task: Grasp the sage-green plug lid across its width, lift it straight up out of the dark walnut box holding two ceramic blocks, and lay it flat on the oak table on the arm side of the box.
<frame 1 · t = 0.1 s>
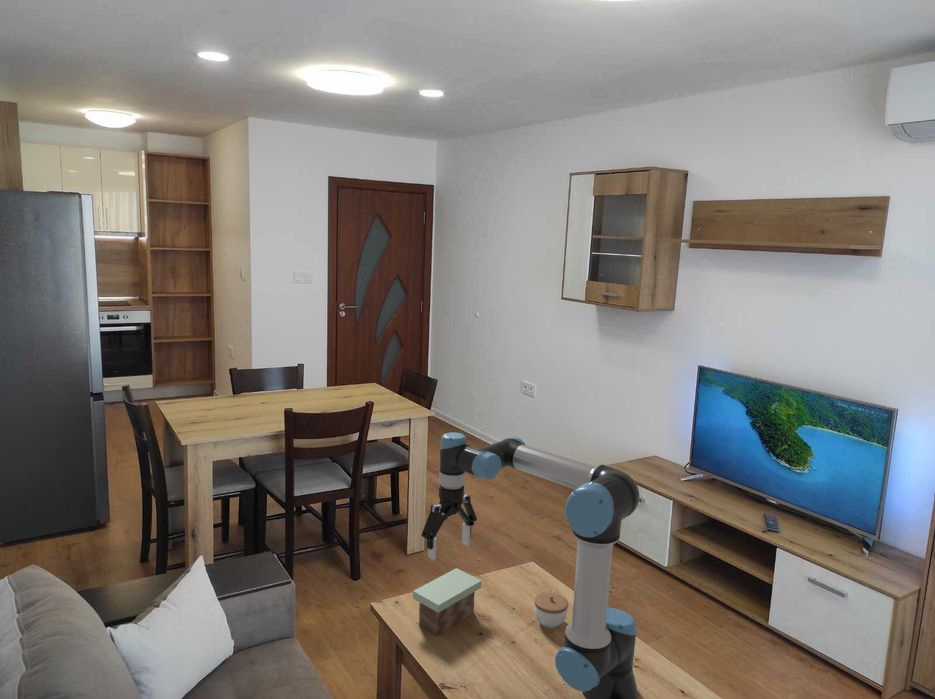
hand: (449, 551, 202), 28 cm above the table, fingers open, 13 cm apart
box: (446, 621, 214), on the table
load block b: (438, 624, 211), point 1 cm above the table, touching box
lid: (447, 592, 212), point 10 cm above the table, touching box
lidded jar: (549, 623, 216), on the table
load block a: (455, 614, 217), point 1 cm above the table, touching box
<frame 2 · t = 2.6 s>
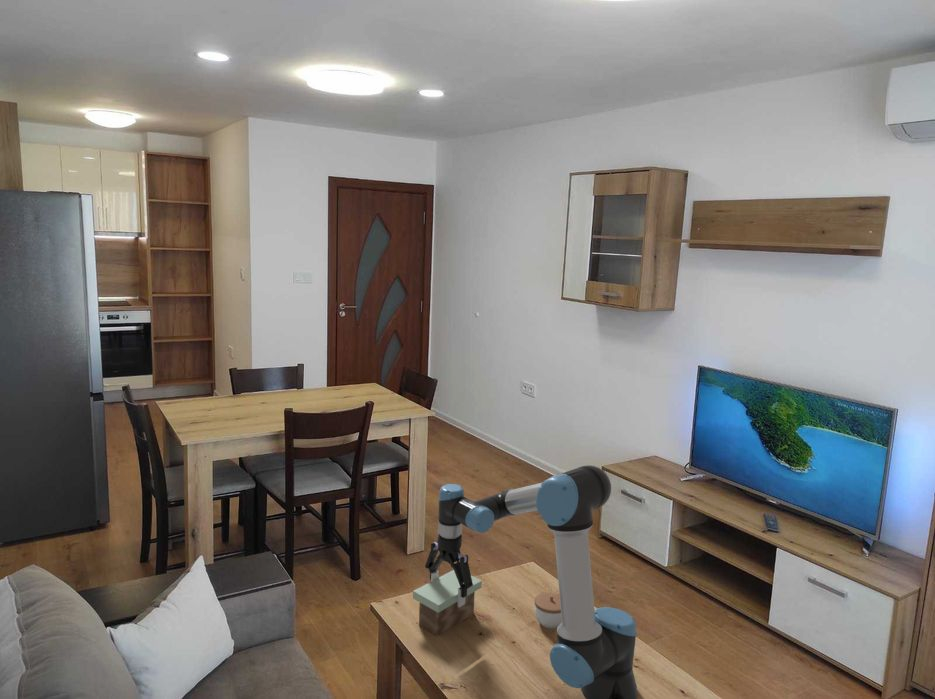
hand: (447, 597, 213), 8 cm above the table, fingers closed on lid, 11 cm apart
lid: (447, 592, 212), point 10 cm above the table, touching box, gripper
everything else where it was.
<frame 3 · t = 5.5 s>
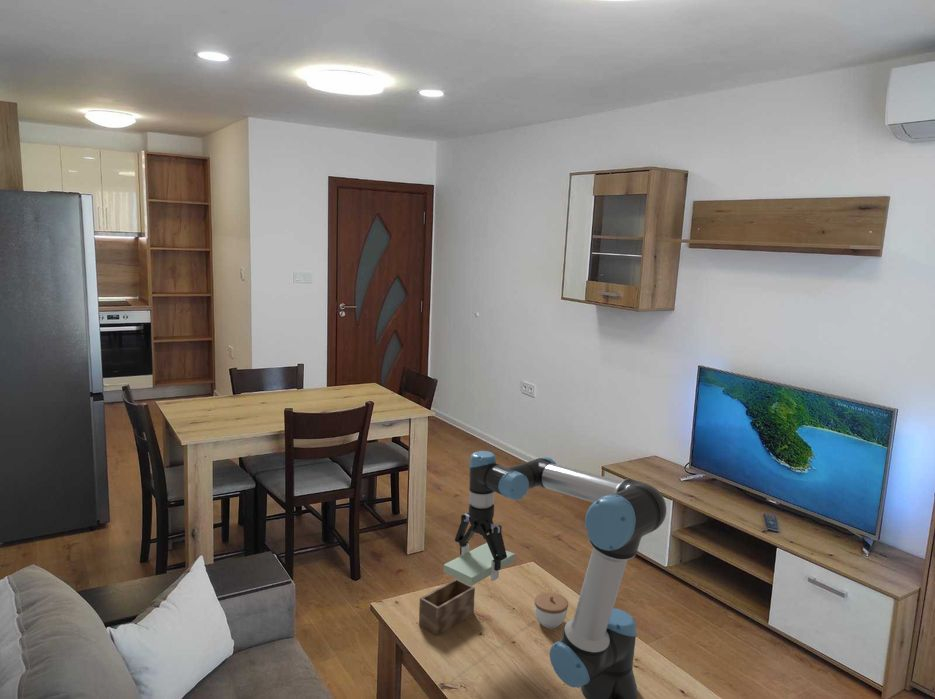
hand: (479, 572, 202), 22 cm above the table, fingers closed on lid, 11 cm apart
lid: (479, 566, 202), point 24 cm above the table, touching gripper
everything else where it was.
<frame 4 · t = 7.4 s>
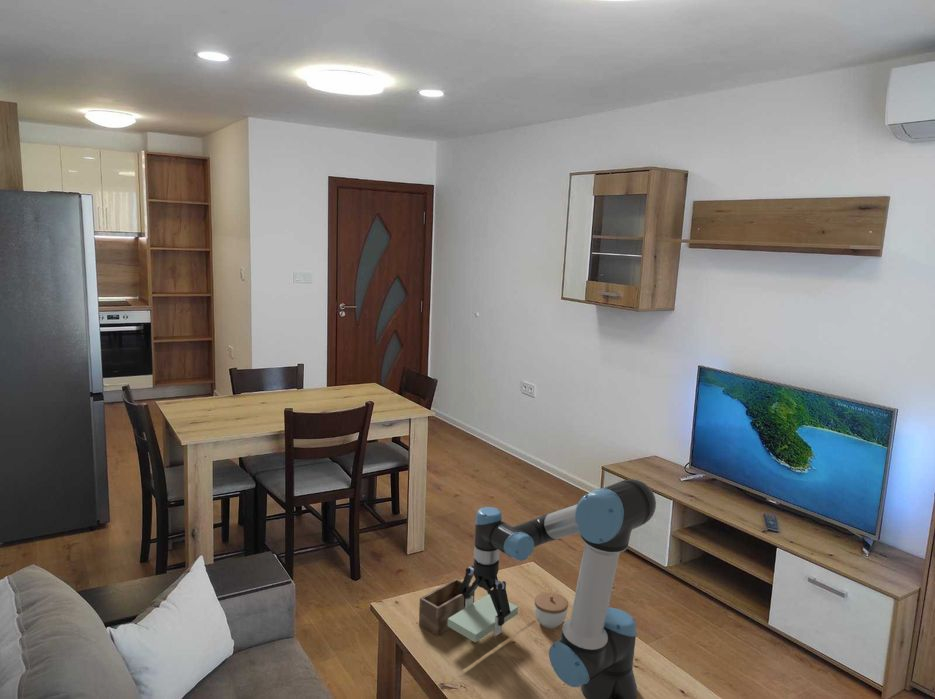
hand: (482, 625, 204), 6 cm above the table, fingers closed on lid, 11 cm apart
lid: (483, 619, 203), point 7 cm above the table, touching gripper
everything else where it was.
when the fingers open (2 cm above the table, at t = 8.8 s): lid drops 3 cm, point 1 cm above the table.
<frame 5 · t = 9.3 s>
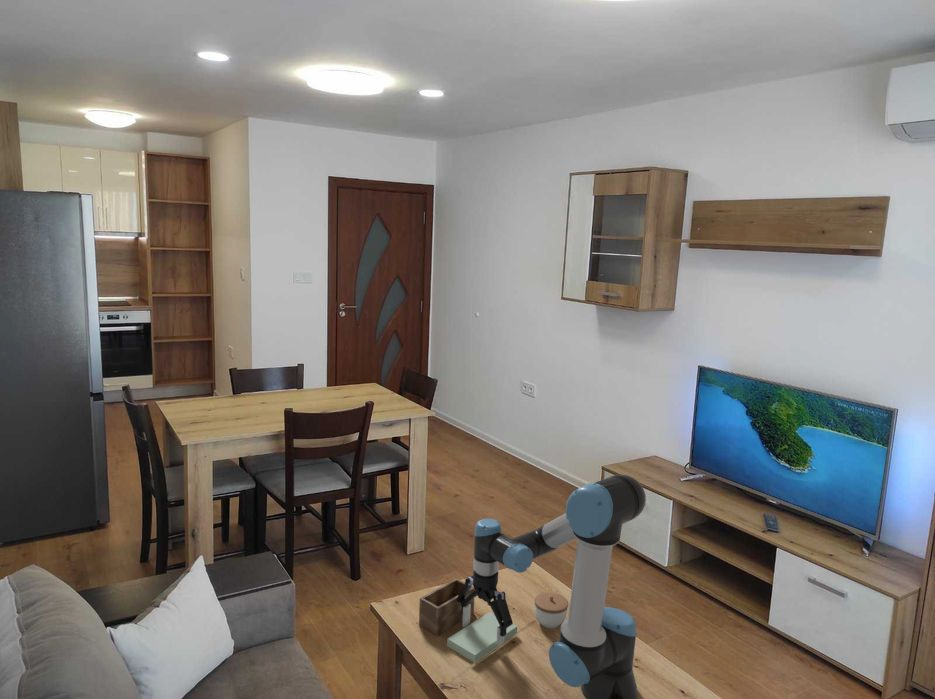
hand: (482, 634, 204), 3 cm above the table, fingers open, 13 cm apart
lid: (482, 639, 204), point 1 cm above the table
everything else where it was.
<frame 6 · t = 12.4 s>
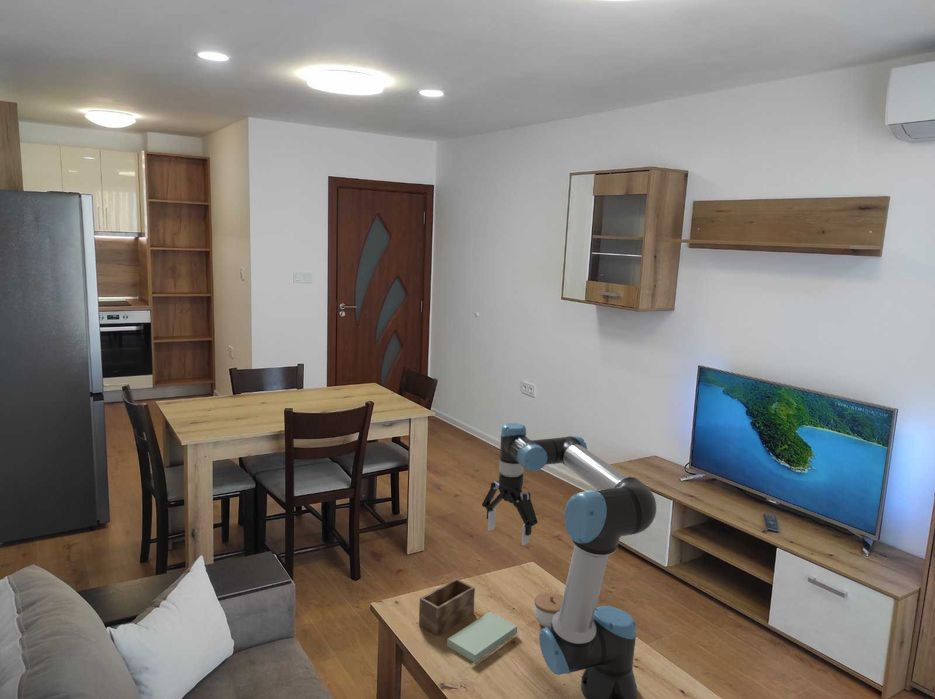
hand: (507, 536, 212), 29 cm above the table, fingers open, 13 cm apart
nothing on the table moved.
at the end: lid inside the target area (0.1 cm from its centre), point 0.8 cm above the table; lid tilted 0°; the gripper is holding nothing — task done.
